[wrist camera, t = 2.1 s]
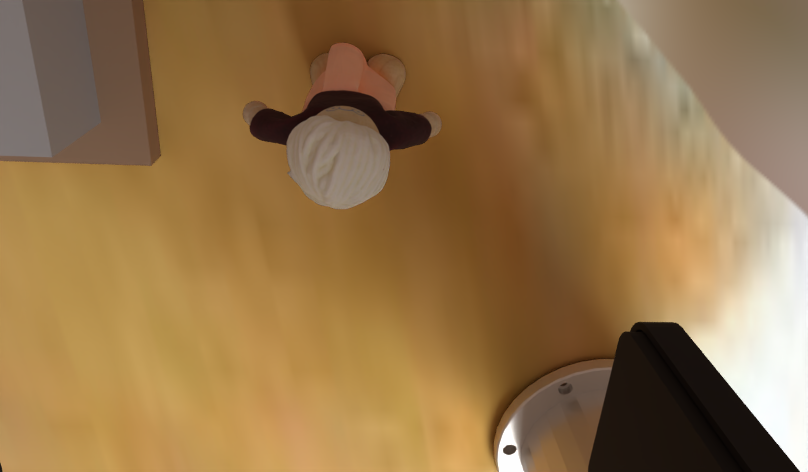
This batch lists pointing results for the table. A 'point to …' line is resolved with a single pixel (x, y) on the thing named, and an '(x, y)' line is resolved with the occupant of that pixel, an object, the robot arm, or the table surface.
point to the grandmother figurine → (345, 127)
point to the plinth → (117, 91)
